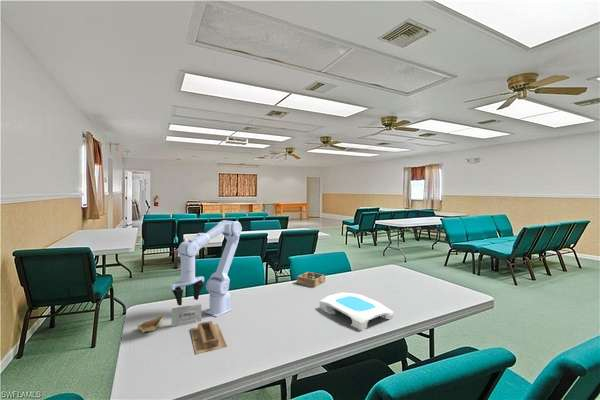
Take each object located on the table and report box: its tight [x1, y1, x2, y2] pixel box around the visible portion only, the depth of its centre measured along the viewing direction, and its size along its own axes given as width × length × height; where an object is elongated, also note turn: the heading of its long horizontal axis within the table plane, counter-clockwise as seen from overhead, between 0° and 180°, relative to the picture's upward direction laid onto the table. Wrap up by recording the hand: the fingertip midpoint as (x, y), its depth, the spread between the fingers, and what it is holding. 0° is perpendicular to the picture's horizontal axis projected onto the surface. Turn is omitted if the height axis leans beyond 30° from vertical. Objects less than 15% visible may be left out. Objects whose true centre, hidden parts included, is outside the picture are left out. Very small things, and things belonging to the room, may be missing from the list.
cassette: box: [171, 303, 202, 328], centre depth 121 cm, size 12×2×8 cm, turn 117°
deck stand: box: [296, 271, 326, 288], centre depth 176 cm, size 13×13×5 cm
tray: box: [190, 320, 228, 356], centre depth 109 cm, size 11×20×3 cm, turn 26°
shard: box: [136, 315, 164, 334], centre depth 118 cm, size 11×8×2 cm
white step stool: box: [319, 292, 394, 331], centre depth 131 cm, size 21×28×6 cm
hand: (187, 302), depth 119 cm, fingers open, 7 cm apart
